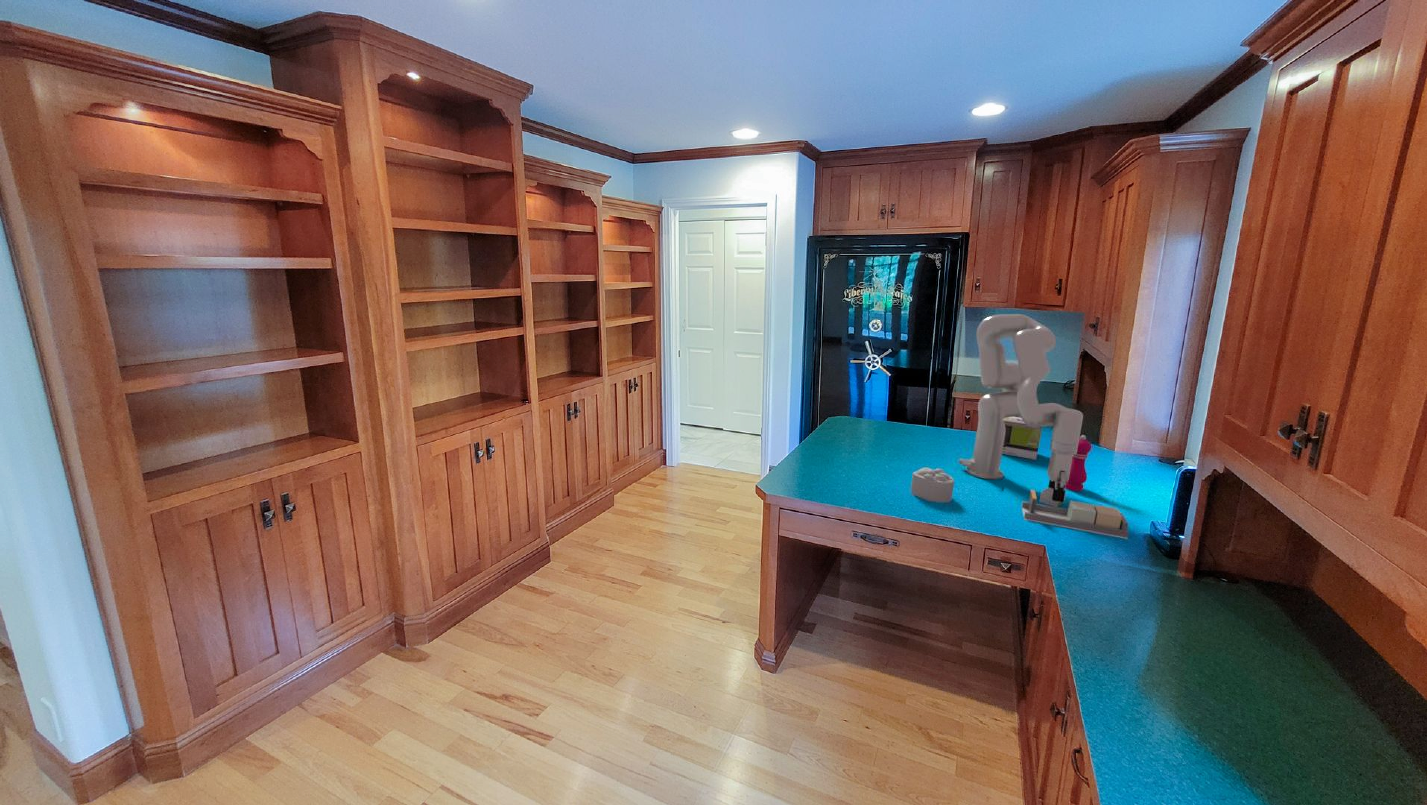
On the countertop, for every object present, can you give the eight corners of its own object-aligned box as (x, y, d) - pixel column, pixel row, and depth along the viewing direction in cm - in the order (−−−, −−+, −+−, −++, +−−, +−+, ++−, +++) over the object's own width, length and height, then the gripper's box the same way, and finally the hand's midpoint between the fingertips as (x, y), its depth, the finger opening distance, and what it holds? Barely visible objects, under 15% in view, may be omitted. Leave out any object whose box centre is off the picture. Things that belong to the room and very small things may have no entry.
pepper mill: (1087, 493, 197) (1099, 439, 192) (1065, 490, 199) (1076, 437, 193) (1079, 484, 204) (1090, 433, 199) (1057, 482, 205) (1068, 431, 200)
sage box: (1069, 524, 172) (1073, 508, 170) (1066, 516, 177) (1069, 500, 175) (1092, 528, 169) (1096, 512, 168) (1088, 520, 175) (1092, 504, 173)
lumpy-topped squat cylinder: (921, 485, 201) (924, 462, 198) (957, 497, 191) (961, 473, 189) (907, 493, 194) (910, 469, 191) (943, 505, 185) (946, 481, 182)
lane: (1023, 522, 174) (1026, 507, 173) (1021, 508, 184) (1023, 494, 183) (1127, 541, 164) (1131, 526, 163) (1118, 525, 174) (1122, 511, 172)
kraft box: (1094, 529, 169) (1098, 512, 168) (1090, 520, 174) (1094, 504, 173) (1117, 533, 167) (1122, 516, 165) (1113, 524, 172) (1117, 508, 171)
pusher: (1029, 516, 175) (1033, 497, 174) (1027, 508, 181) (1031, 489, 180) (1033, 517, 175) (1036, 498, 173) (1030, 508, 181) (1034, 490, 179)
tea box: (1037, 453, 235) (1043, 420, 231) (1035, 460, 227) (1042, 426, 223) (998, 446, 243) (1003, 413, 239) (995, 453, 235) (1000, 419, 231)
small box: (1056, 510, 183) (1059, 496, 182) (1038, 504, 188) (1040, 490, 186) (1064, 506, 187) (1066, 492, 185) (1046, 500, 191) (1048, 486, 190)
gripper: (1047, 437, 190) (1039, 484, 195) (1054, 452, 175) (1045, 503, 179) (1072, 440, 188) (1064, 488, 192) (1082, 456, 172) (1072, 507, 176)
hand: (1055, 495), depth 185 cm, fingers open, 9 cm apart
